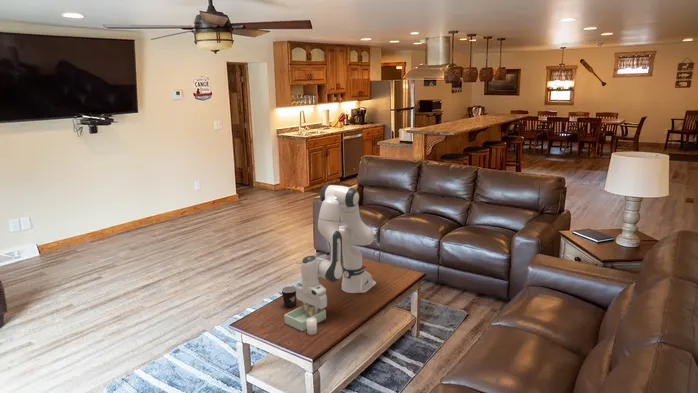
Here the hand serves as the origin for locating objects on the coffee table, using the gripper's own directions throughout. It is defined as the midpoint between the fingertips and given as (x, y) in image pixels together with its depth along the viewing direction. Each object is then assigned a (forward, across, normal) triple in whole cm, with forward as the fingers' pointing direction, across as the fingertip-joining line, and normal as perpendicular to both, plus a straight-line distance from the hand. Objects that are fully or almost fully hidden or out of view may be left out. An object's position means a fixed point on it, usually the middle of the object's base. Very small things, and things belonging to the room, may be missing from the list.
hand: (311, 311), depth 252 cm
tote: (+4, 0, -4) cm, 6 cm away
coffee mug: (+4, -19, +4) cm, 19 cm away
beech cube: (+2, 0, 0) cm, 2 cm away
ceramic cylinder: (+4, +11, -10) cm, 16 cm away
